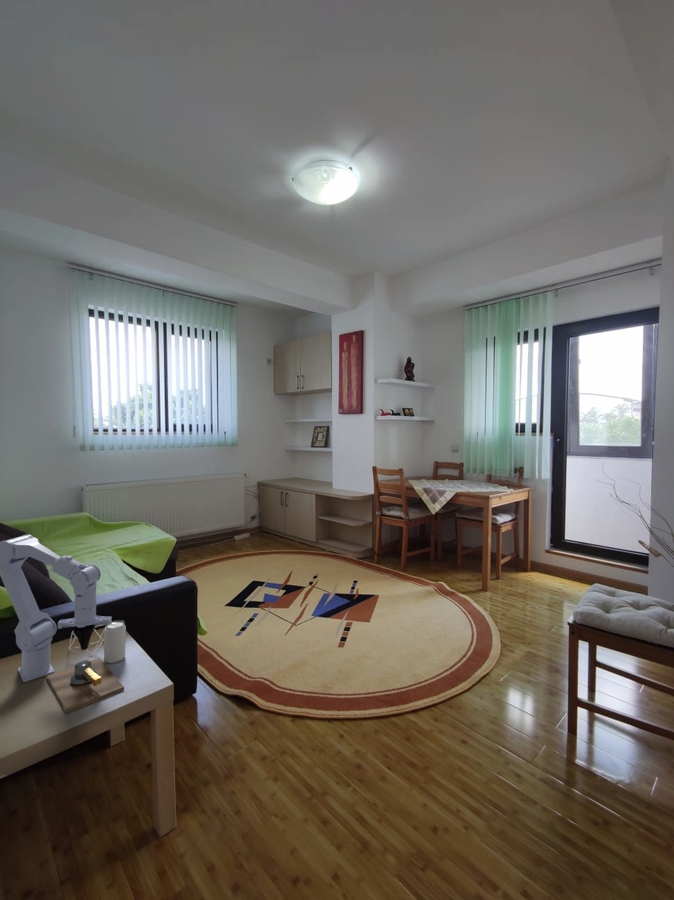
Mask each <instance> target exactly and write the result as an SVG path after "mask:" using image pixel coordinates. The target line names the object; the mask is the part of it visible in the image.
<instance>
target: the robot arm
mask: <svg viewBox="0 0 674 900" xmlns="http://www.w3.org/2000/svg"><path fill="white" fill-rule="evenodd" d="M29 557H30V558H33V559H34V560H37V561H39V562H42V563H43V564H46V565H48V566H51V567H52V572H53V573H55V574H57V575H59V576H61V577H62V578H64V579H66V580H68V581H69V582H70V585H71V587H72V589H73V593H74V617H72V618H65V619H60V620H59V621H58V622H57V624H56V622H55V621H54V620H53V619H52V618H51V617H50V614H49V613H47V612H43V611H40V608H39V606H38V604H37V601H36V599H35V596H34V594H33V592H32V590H31V588H30V585H29V582H28V580H27V578H26V576H25V574H24V571H23V569H22V566H23V565H24V562H25V561H27V559H28V558H29ZM0 578H1V581H2V583H3V586H4V588H5V589H6V592H7V595H8V596H9V599H10V601H11V604H12V606H13V608H14V611H15V613H16V615H17V618H18V624H17V626H16V628H15V629H14V634H15V643H16V646H17V648H18V649H19V650H20V651H21V667H19V668H17V671H18V674H19V675H20V678H21V680H22V681H23V683H26V682H29V681H32V680H36V679H38V678H41V677H44V676H47V675H50V674H53V673H55V670H54V667H53V666H52V664H51V655H52V654H51V643H52V641H53V637H54V636H55V634H56V633H57V630H60V629H63V628H74V629H73V630H72V631H73V633H74V634H75V636H76V637H77V638H76V640H77V639H78V643H79V645H80V646H81V647H80V646H79V647H80V650H81V651H86V649H87V650H88V648H89V644H90V640H91V637H92V635H93V632H94V629H95V628H96V627H95V626H98V625H102V626H106V625H110V624H111V622H112V616H102V615H97V582H98V581H99V580H100V578H101V571H100V569H99V567H98V566H96V565H95V564H88V565H87V564H86V563H83V562H80V561H78V560H76V559H74V558H73V556H72V555H62V556H60V555H59V554H57V553H56V552H54V551H52V550H51V549H49V548H48V547H46V546H45V545H43V544H41V543H40V541H39V539H38V537H34V536H33V535H31V534H28V533H27V534H23V535H21V536H18V537H13V538H10V539H7V540H0ZM73 633H72V634H73ZM75 636H74V637H75Z"/></svg>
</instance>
